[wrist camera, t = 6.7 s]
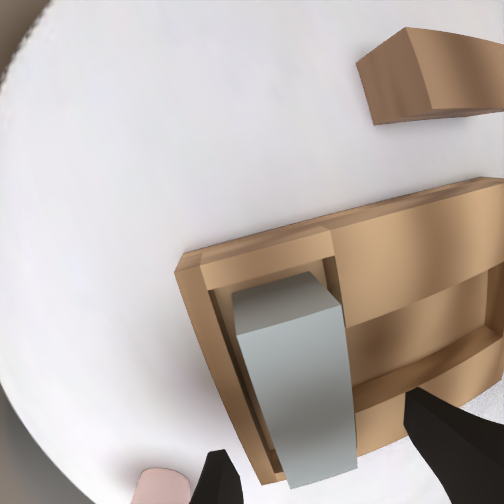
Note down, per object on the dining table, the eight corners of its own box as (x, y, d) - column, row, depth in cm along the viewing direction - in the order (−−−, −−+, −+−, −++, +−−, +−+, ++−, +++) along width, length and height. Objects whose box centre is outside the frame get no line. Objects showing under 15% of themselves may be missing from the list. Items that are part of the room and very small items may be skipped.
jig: (481, 176, 15) (516, 179, 12) (478, 361, 18) (501, 379, 15) (182, 253, 14) (174, 272, 11) (256, 451, 18) (261, 485, 15)
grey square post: (309, 270, 14) (341, 304, 10) (335, 421, 16) (357, 467, 13) (231, 292, 14) (236, 335, 10) (278, 438, 16) (290, 489, 12)
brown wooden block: (449, 64, 13) (505, 45, 8) (464, 117, 14) (524, 108, 9) (355, 63, 13) (405, 27, 8) (373, 125, 14) (432, 109, 9)
